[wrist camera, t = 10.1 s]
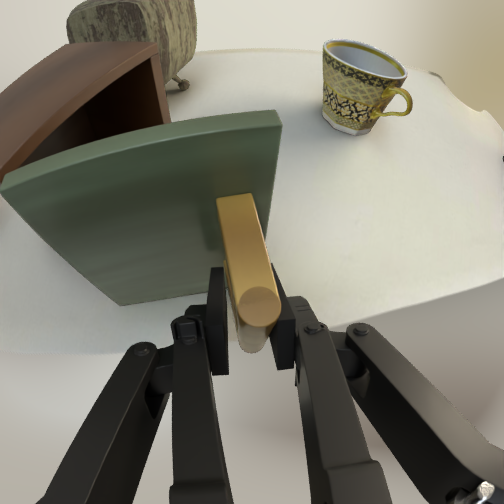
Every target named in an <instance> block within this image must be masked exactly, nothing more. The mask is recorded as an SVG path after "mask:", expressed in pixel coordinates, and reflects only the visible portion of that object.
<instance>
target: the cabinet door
mask: <svg viewBox="0 0 504 504" xmlns="http://www.w3.org/2000/svg"><path fill="white" fill-rule="evenodd" d="M281 132H282V122H281V120H280V118H279V116H278V114H277V112H276V110H264V111H252V112H242V113H232V114H224V115H216V116H209V117H202V118H196V119H190V120H184V121H178V122H173V123H168V124H163V125H158V126H153V127H148V128H144V129H139V130H135V131H131V132H127V133H123V134H119V135H115V136H112V137H108V138H104V139H101V140H97V141H94V142H91V143H87V144H84V145H81V146H78V147H75V148H72V149H69V150H66V151H63V152H60V153H57V154H54V155H51V156H49V157H46V158H43V159H41V160H38V161H36V162H33V163H31V164H28V165H26V166H23V167H21V168H18V169H16V170H14V171H12V172H9V173H7V174H5V176H4V179H3V181H2V184H1V187H0V193H1V195H2V196H3V197H4V198H5V199H6V200H7V201H8V203H9V204H10V205H11V206H12V207H13V208H14V209H15V210H16V211H17V213H18V214H19V215H20V216H21V217H22V218H23V219H24V220H25V221H26V222H27V223H28V224H29V225H30V226H31V227H32V228H33V229H34V230H35V231H36V232H37V233H38V234H39V235H40V236H41V237H42V238H43V239H44V240H45V241H46V242H47V243H48V244H49V245H50V246H51V247H52V248H53V249H54V250H55V251H56V252H57V253H58V254H59V255H60V256H62V257H63V258H64V259H65V260H66V261H67V262H68V263H69V264H70V265H71V266H73V267H74V268H75V269H76V270H77V271H78V272H79V273H80V274H82V275H83V276H84V277H85V278H86V279H87V280H89V281H90V282H91V283H92V284H93V285H95V286H96V287H97V288H98V289H99V290H101V291H102V292H103V293H104V294H105V295H107V296H108V297H109V298H110V299H112V300H113V301H114V302H116V303H117V304H118V305H119V306H122V305H129V304H135V303H142V302H148V301H154V300H160V299H167V298H173V297H179V296H185V295H190V294H196V293H202V292H208V288H209V279H210V271H211V268H212V267H223V268H224V279H225V288H228V292H229V297H230V302H231V307H232V312H233V317H234V322H235V327H236V331H237V336H238V341H239V345H240V347H241V348H242V350H244V351H245V352H247V353H256V352H258V351H260V350H261V349H262V348H263V346H264V344H265V342H266V340H267V339H268V337H269V335H270V333H271V331H272V329H273V327H274V325H275V323H276V321H277V319H278V317H279V315H280V313H281V301H280V298H279V294H278V290H277V286H276V282H275V278H274V274H273V271H272V267H271V263H270V259H269V255H268V252H267V248H266V244H265V239H266V233H267V227H268V220H269V213H270V207H271V200H272V194H273V187H274V180H275V174H276V167H277V160H278V153H279V146H280V139H281Z"/></svg>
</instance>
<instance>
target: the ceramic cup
mask: <svg viewBox="0 0 504 504" xmlns="http://www.w3.org/2000/svg"><path fill="white" fill-rule="evenodd" d="M407 75H408V73H407V70H406V68H405V67H404V66H403V65H402V64H401V63H400V62H399V61H398V60H396V59H395V58H394V57H392V56H391V55H389V54H387V53H386V52H384V51H382V50H380V49H378V48H375V47H373V46H370V45H368V44H364V43H361V42H357V41H353V40H347V39H332V40H328V41H326V42H325V43H324V45H323V80H324V84H323V117H324V118H325V119H326V120H327V121H328V122H329V123H330V124H331V126H332V127H333V128H334V129H337V130H339V131H342V132H345V133H348V134H351V135H354V136H357V135H362V134H367V133H368V132H370V130H371V129H372V127H373V126H374V124H375V122H376V121H377V120H378V118H379V117H380V116H389V115H395V116H405V115H408V114H409V113H410V112H411V110H412V106H413V102H412V98H411V96H410V94H409V93H408V92H407V91H406V90H404V89H402V88H401V86H402V84H403V83H404V81H405V79H406V78H407ZM395 94H400V95H402V96H403V97H404V98H405V99H406V101H407V110H406V111H405V112H387V113H382V112H383V111H384V110H385V108H386V107H387V105H388V104H389V103H390V101H391V100H392V99H393V97H394V96H395Z"/></svg>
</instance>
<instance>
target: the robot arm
mask: <svg viewBox="0 0 504 504" xmlns="http://www.w3.org/2000/svg"><path fill="white" fill-rule="evenodd" d="M271 267H272V271H273V274H274V278H275V282H276V286H277V290H278V294H279V298H280V301H281V313H280V315H279V317H278V319H277V321H276V323H275V325H274V327H273V329H272V331H271V333H270V335H269V338H270V342H271V346H272V350H273V354H274V358H275V362H276V367H277V370H285V369H293V368H294V361H295V363H296V377H295V386H297V388H298V395H299V403H300V410H301V418H302V426H303V433H304V441H305V449H306V458H307V466H308V475H309V484H310V493H311V504H392V500H391V497H390V493H389V490H388V486H387V483H386V479H385V476H384V473H383V469H382V467H381V465H380V463H379V462H378V461H375V460H372V459H371V457H370V455H369V451H368V447H367V444H366V441H365V437H364V434H363V431H362V428H361V425H360V421H359V418H358V415H357V412H356V409H355V405H354V403H353V399H352V397H353V398H354V400H355V401H356V402H357V404H358V405H359V407H360V408H361V410H362V411H363V412H364V414H365V415H366V416H367V418H368V419H369V421H370V422H371V424H372V425H373V426H374V428H375V429H376V431H377V432H378V434H379V435H380V437H381V438H382V439H383V441H384V442H385V444H386V445H387V447H388V448H389V449H390V450H391V452H392V454H393V455H394V456H395V458H396V459H397V461H398V462H399V464H400V465H401V466H402V468H403V469H404V471H405V472H406V473H407V475H408V476H409V478H410V479H411V481H412V482H413V483H414V485H415V486H416V488H417V489H418V490H419V492H420V493H421V495H422V496H423V497H424V498H425V499H426V501H427V502H428V503H429V504H504V450H502V449H500V448H498V447H496V446H494V445H492V444H490V443H489V442H488V441H487V440H486V439H485V438H484V437H483V435H482V434H481V433H480V432H479V431H478V430H477V429H476V428H475V427H474V426H473V425H472V424H471V423H470V422H469V421H468V420H467V419H466V418H465V417H464V416H463V415H462V414H461V413H460V412H459V411H458V410H457V409H456V408H455V407H454V406H453V405H452V404H451V403H450V402H449V401H448V400H447V399H446V398H445V396H443V394H442V393H441V392H439V390H438V389H436V388H435V387H434V386H433V385H432V384H431V383H430V382H429V381H428V380H427V379H426V378H425V377H424V376H423V375H422V374H421V373H420V372H419V371H418V370H417V369H416V368H415V367H414V366H413V365H412V364H411V363H410V362H409V361H408V360H407V359H406V358H405V357H404V356H403V355H402V354H401V353H400V352H399V351H398V350H397V349H395V347H393V346H392V345H391V344H390V343H389V342H388V341H387V340H386V339H385V338H384V337H383V336H382V335H381V334H380V333H379V332H378V331H377V330H375V328H373V327H372V326H370V325H368V324H365V323H354V324H351V325H349V326H348V327H347V330H346V333H345V332H332V331H329V329H328V327H327V326H326V325H325V324H323V323H321V322H318V320H317V318H316V316H315V314H314V312H313V311H312V309H311V307H310V306H309V303H308V301H307V300H306V299H304V298H303V297H301V296H295V297H286V294H285V292H284V290H283V287H282V285H281V283H280V280H279V278H278V276H277V273H276V271H275V269H274V266H273V264H272V263H271ZM171 330H172V334H173V339H174V344H173V345H171V346H168V347H165V348H160V349H157V348H156V345H154V344H153V343H150V342H139V343H136V344H134V345H132V346H131V347H130V348H129V349H128V350H127V352H126V353H125V355H124V356H123V358H122V360H121V361H120V363H119V364H118V366H117V367H116V369H115V371H114V372H113V374H112V376H111V377H110V379H109V380H108V382H107V384H106V385H105V387H104V389H103V390H102V392H101V394H100V395H99V397H98V399H97V400H96V402H95V404H94V405H93V407H92V409H91V411H90V412H89V414H88V416H87V418H86V419H85V421H84V422H83V424H82V426H81V428H80V429H79V431H78V433H77V435H76V437H75V438H74V440H73V442H72V444H71V445H70V447H69V449H68V451H67V453H66V455H65V456H64V458H63V460H62V462H61V464H60V466H59V468H58V470H57V472H56V474H55V476H54V477H53V479H52V481H51V483H50V485H49V487H48V489H47V491H46V493H45V495H44V497H42V498H41V499H40V500H39V501H38V502H37V503H36V504H132V503H133V500H134V497H135V494H136V491H137V488H138V485H139V481H140V479H141V475H142V473H143V470H144V467H145V464H146V461H147V458H148V455H149V452H150V449H151V447H152V443H153V441H154V438H155V435H156V432H157V429H158V426H159V424H160V421H161V418H162V415H163V412H164V410H165V407H166V404H167V402H168V399H169V396H170V393H171V392H172V453H173V478H174V480H173V485H172V486H170V490H169V503H170V504H234V502H233V498H232V493H231V488H230V483H229V478H228V473H227V468H226V463H225V457H224V452H223V446H222V441H221V435H220V429H219V423H218V417H217V411H216V404H215V397H214V390H213V383H212V378H211V372H212V375H213V376H215V375H229V363H228V328H227V301H226V290H225V279H224V268H223V267H212V268H211V271H210V279H209V288H208V296H207V304H203V305H190V306H189V307H188V308H187V309H186V311H185V315H184V316H180V317H178V318H176V319H174V320H173V321H172V323H171ZM351 395H352V396H351Z"/></svg>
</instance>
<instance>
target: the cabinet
mask: <svg viewBox="0 0 504 504" xmlns="http://www.w3.org/2000/svg"><path fill="white" fill-rule="evenodd" d="M168 123H171V118H170V113H169V108H168V103H167V98H166V92H165V87H164V81H163V76H162V70H161V64H160V58H159V53H158V46H157V43H156V42H136V41H106V42H85V43H72V44H65V45H64V46H62V47H61V48H59V49H58V50H56V51H55V52H53V53H52V54H50V55H49V56H47V57H46V58H44V59H43V60H41V61H40V62H39V63H37V64H36V65H35V66H33V67H32V68H31V69H29V70H28V71H27V72H25V73H24V74H23V75H22V76H21V77H19V78H18V79H17V80H16V81H14V82H13V83H12V84H11V85H9V86H8V87H7V88H6V89H5V90H4V91H3V92H1V93H0V187H1V184H2V181H3V179H4V176H5V174H7V173H9V172H12V171H14V170H16V169H18V168H21V167H23V166H26V165H28V164H31V163H33V162H36V161H38V160H41V159H43V158H46V157H49V156H51V155H54V154H57V153H60V152H63V151H66V150H69V149H72V148H75V147H78V146H81V145H84V144H87V143H91V142H94V141H97V140H101V139H104V138H108V137H112V136H115V135H119V134H123V133H127V132H131V131H135V130H139V129H144V128H148V127H153V126H158V125H163V124H168ZM0 194H1V193H0ZM2 197H3V196H2ZM3 198H4V197H3ZM4 199H5V198H4ZM5 200H6V199H5ZM6 201H7V200H6ZM7 202H8V201H7ZM10 206H11V205H10ZM11 207H12V206H11ZM12 208H13V207H12ZM13 209H14V208H13ZM14 210H15V209H14ZM15 211H16V210H15ZM16 212H17V211H16ZM21 218H22V217H21ZM22 219H23V218H22ZM23 220H24V219H23ZM24 221H25V220H24ZM25 222H26V221H25ZM26 223H27V222H26ZM27 224H28V223H27ZM28 225H29V224H28ZM29 226H30V225H29ZM30 227H31V226H30ZM31 228H32V227H31ZM32 229H33V228H32ZM33 230H34V229H33ZM34 231H35V230H34ZM35 232H36V231H35ZM36 233H37V232H36ZM37 234H38V233H37ZM38 235H39V234H38ZM39 236H40V235H39ZM40 237H41V236H40ZM41 238H42V237H41ZM42 239H43V238H42ZM43 240H44V239H43ZM44 241H45V240H44ZM45 242H46V241H45ZM46 243H47V242H46ZM47 244H48V243H47ZM48 245H49V244H48Z"/></svg>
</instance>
